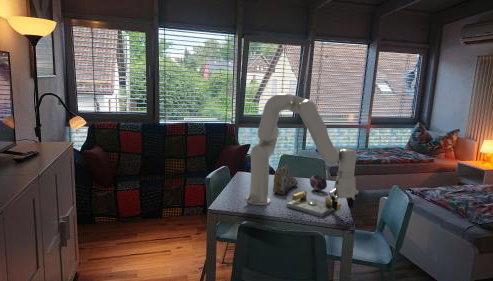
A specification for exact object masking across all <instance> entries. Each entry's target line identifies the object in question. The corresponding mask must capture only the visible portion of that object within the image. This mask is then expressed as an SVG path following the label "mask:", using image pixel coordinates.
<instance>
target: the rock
mask: <svg viewBox="0 0 493 281" xmlns="http://www.w3.org/2000/svg"><path fill="white" fill-rule="evenodd" d="M294 186H298V180H297V179H296V177H294V176H293V175H292V172H291V171H290V167H289V166H288V165H287V164H283V165H282V166H281V167H279V168H276V169H275V172H274V177H273V188H272V193H273V194H275V193H276V194H278V195H282V196H286V195H288V192H289V190H290V189H291V188H293V187H294Z"/></svg>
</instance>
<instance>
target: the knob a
mask: <svg viewBox="0 0 493 281" xmlns="http://www.w3.org/2000/svg"><path fill="white" fill-rule="evenodd" d="M307 197H308V192H307V190H300V192H297V193H294V194H292V200H291V201H293V200H295V201H296V200H298V199H306V198H307Z"/></svg>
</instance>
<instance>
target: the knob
mask: <svg viewBox="0 0 493 281" xmlns="http://www.w3.org/2000/svg"><path fill="white" fill-rule="evenodd" d="M324 202H325V205H326V206H332V200H331V198H330V196H327V197H325V200H324ZM341 206H342V204H341V203H339V202H338V204H337V209H336V210H341Z"/></svg>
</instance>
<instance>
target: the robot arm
mask: <svg viewBox="0 0 493 281" xmlns="http://www.w3.org/2000/svg"><path fill="white" fill-rule="evenodd" d="M282 111H289V112H293V113H295V114H299V116H300V118H301V119H302V121H303V123H304V125H305V126H306V129H307V130H308V132H309V135H310V137H311V139H312V141H313V143H314V146H315V147H316V150H317V151H318V153H319V155H320V157H321V159H322V160H323V161H324V163H326V164H327V165H336V164H337V163H338V171H337V172H336V178H335V181H334V182H335V183H334V185H333V186H334V187H333V189H332V190H330V191H329V192H328V194H329V197H330V198H331V200H332V208H334V209H335V210H334V211H336V210H337V204H338V203H339V202H338V200H339V199H348V200H347V201H348V202H347V207H349V208H351V209H353V208H354V201H355V200H356V198H357V197H358V194H359V190H358V189H357V185H356V183H357V182H356V177H355V168H356V161H357V151H356V150H354V149H351V148H340V147H337V146H335V145H334V144H333V143H332V142H333V141H331V138H330V136H329V133H328V128H327V125H326V124H325V121H324V120H323V119H322V116H321V115H320V113H319V111H318V109H317V105H316V103H315V102H314V101H313V100H311V99H307V98H303V97H300V96H298V95H294V94H291V93H285V92H284V93H278V94H275V95H273V96H271V97H270V98H269V99H267V101H266V102H265V104H264V107H263V111H262V115H261V119H260V123H259V126H258V129H257V138H258V139H259V140H258V143H257V144H255V145H253V147H252V149H251V150H250V168H251V169H250V185H249V186H250V188H249V194H248V196H247V197H245V198H244V201H245V202H247V203H248V204H251V205H255V206H265V205H267V206H268V205H270V203H271V199H270V198H269V197H268V196H269V180H270V158H271V157H272V156H273V154H274V152H275V149H276V146H277V142H278V138H279V134H280V133H279V131H280V130H279V127H278V126H277V125H278V122H279V117H280V113H281V112H282Z"/></svg>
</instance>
